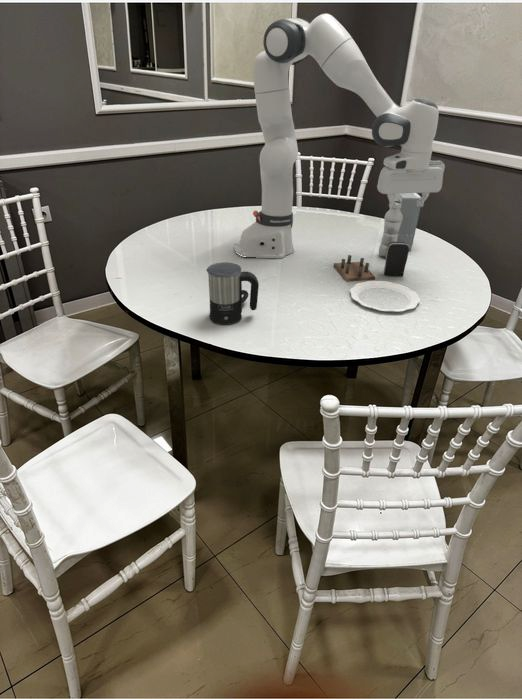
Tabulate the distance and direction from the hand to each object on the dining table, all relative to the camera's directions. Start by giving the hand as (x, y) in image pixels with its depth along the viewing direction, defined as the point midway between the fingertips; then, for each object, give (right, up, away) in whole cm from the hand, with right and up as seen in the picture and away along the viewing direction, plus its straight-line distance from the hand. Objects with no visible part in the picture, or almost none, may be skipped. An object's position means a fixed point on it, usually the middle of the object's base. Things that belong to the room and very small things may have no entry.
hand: (405, 206), depth 149 cm
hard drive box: (+8, -3, +38) cm, 39 cm away
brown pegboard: (-14, -19, +13) cm, 27 cm away
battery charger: (-1, -20, +13) cm, 23 cm away
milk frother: (-55, -34, -13) cm, 66 cm away
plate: (-8, -30, -3) cm, 31 cm away
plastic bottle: (+1, -11, +27) cm, 29 cm away
